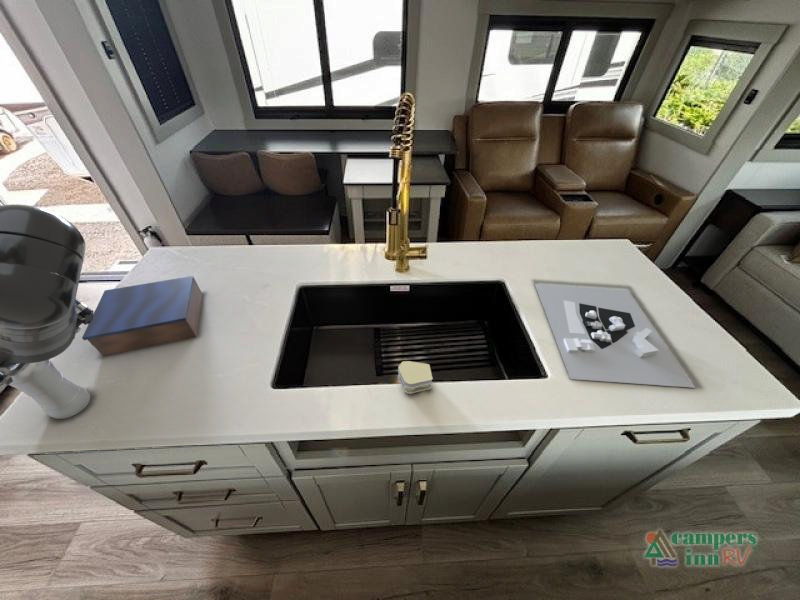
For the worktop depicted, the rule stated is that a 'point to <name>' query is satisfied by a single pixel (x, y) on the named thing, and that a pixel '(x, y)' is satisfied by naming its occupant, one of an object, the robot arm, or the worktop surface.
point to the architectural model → (608, 337)
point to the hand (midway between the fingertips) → (35, 356)
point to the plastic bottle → (51, 390)
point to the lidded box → (154, 331)
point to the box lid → (140, 307)
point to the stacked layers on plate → (414, 376)
